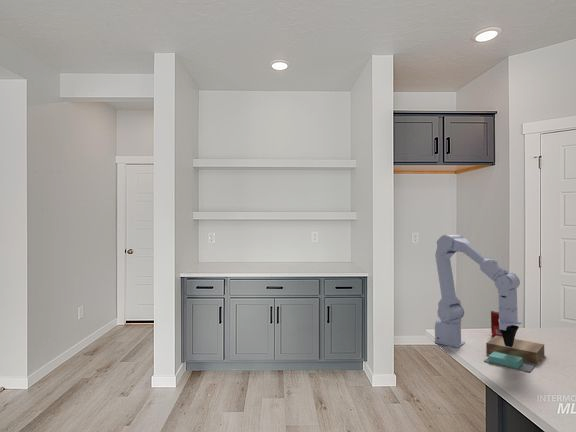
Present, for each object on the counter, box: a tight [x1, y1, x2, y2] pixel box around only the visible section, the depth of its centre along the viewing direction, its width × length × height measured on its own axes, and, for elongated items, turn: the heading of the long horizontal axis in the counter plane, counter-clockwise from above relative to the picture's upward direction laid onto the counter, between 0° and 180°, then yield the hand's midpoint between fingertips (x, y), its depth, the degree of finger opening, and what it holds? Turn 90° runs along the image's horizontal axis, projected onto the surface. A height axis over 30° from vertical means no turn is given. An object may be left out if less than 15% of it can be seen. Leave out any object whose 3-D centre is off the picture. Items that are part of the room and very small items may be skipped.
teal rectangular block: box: [487, 352, 523, 368], centre depth 130 cm, size 9×6×2 cm, turn 44°
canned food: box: [490, 308, 503, 338], centre depth 161 cm, size 8×8×11 cm
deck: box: [485, 336, 545, 365], centre depth 139 cm, size 16×12×4 cm
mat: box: [483, 357, 538, 374], centre depth 130 cm, size 14×9×1 cm, turn 45°
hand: (508, 346), depth 133 cm, fingers closed
